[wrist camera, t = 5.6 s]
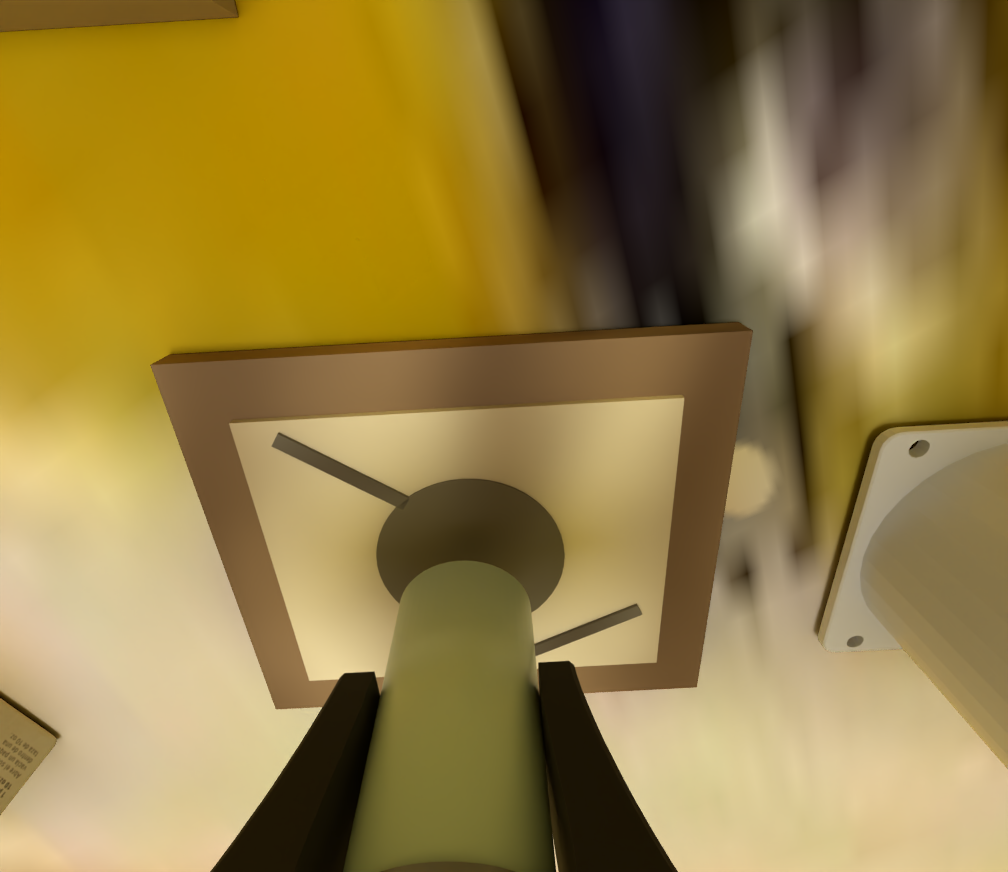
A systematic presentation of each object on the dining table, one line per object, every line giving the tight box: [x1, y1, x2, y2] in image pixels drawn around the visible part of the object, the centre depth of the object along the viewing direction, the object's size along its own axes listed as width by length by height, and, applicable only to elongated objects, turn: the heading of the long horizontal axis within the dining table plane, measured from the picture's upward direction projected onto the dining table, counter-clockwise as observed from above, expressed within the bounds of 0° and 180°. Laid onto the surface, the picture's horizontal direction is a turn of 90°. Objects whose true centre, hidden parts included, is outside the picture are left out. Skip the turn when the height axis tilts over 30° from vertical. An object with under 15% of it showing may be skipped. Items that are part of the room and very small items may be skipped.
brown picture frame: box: [151, 322, 753, 709], centre depth 15 cm, size 14×12×1 cm
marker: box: [343, 561, 556, 872], centre depth 9 cm, size 3×3×8 cm
